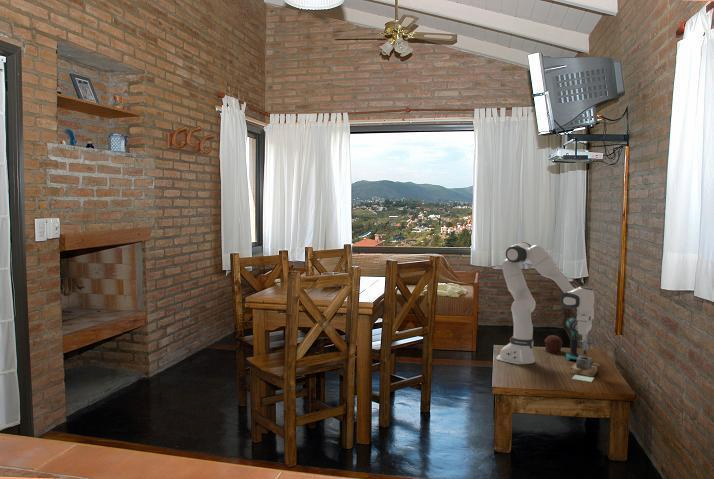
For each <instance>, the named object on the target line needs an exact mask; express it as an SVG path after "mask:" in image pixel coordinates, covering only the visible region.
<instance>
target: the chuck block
mask: <svg viewBox="0 0 714 479" xmlns="http://www.w3.org/2000/svg"><path fill="white" fill-rule="evenodd" d="M598 367H600V363H597V362H593V358H592V357H589V356H582V355H581V356H579V357H578V358H577V359H576V362H575V363H574V364H572V366H571V367H570V374H573V375H580V376H586V377H593V378H594V376H596V374H597V372H598Z"/></svg>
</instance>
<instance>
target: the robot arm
mask: <svg viewBox="0 0 714 479" xmlns="http://www.w3.org/2000/svg"><path fill="white" fill-rule="evenodd" d="M525 261H529V262H530V263H531V264H532V266H533V268H534V269H535V270H536V272H537V273H538V274H540V275H541V277H544V278H548V279H550V280H552V281H554V283H555V284H556V285H557V286H558V287H559V288H560V290H561V291H562V292H563V293H561V295H560V297H559V304H560V305H561V306H562V307H563V308H565V309H576V311H577V312H576V319H577V320H578V333H577V334H578V335H580V336H581V337H582V340H581V341H583V340H584V341H585V340H586V335H588V336H589V332H590V331H591V329H593V328H592V327H593V320H594V319H595V308H594V307H595V306H594V305H595V292H594V290H593V289H592V287H590V286H585V285H584V286H583V285H579V287H577V288H576V287H575V286H574V285H573V284H572V282H570V281H569V279H568V278H567V277H566V276H565V274H564V273H563V272H562V270H561V269H560V268H559V267H558V266H557V264H556V263H555V260H554V259H553V258H552V257H551V255H550V253H549V252H547V250H546V249H545V248H544V247H543V246H541V245H540V244H533V245H531V244H530V243H528V242H525V241H524V242H518V243H515V244H511V245H510V246H508V248H507V249H506V250H505V259H504V260H503V261H502V262H501V267H502V274H503V276H504V277H503V278H504V281H505V283H506V287H507V290H508V291H509V292H510V294H511V296H512V298H513V300H514V301H513V302H512V303H511V307H510V310H511V313H512V322H513V335H512V336H511V337H510V338H509V342H508V343H507V344H506V345H504V347H502V348H501V350H500V352H499V353H500V354H498V355H497V356H496V360H497V361H501V362H505V363H510V364H515V365H529V364H534V363H535V362H536V361H535V357H534V350H533V348H534V337H533V335H534V325H533V322H532V313H533V312H534V310H535V309H536V306H537V303H536V300H535V298H534V297H533V294H532V293H531V291H530V289H529V287H528V285H527V282H526V279H525V275H524V273H523V271H522V268H521V267H522V266H521V265H522V263H525Z"/></svg>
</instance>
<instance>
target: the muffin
mask: <svg viewBox="0 0 714 479" xmlns="http://www.w3.org/2000/svg"><path fill="white" fill-rule="evenodd" d="M543 341H544V345H545V346H544V347H545V351H546V352H548V353H552V354H558V353H561V351H562V346H563V343H564V342H563V340H562V339H561V338H560V337H559V336H558V335H554V334H552V335H551V334H550V335H548V336H547V337H546V338H545V339H544V340H543Z"/></svg>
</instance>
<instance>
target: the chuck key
mask: <svg viewBox="0 0 714 479" xmlns="http://www.w3.org/2000/svg"><path fill="white" fill-rule="evenodd" d="M588 336H589V334H588V335H586V340H585V341H584V340H578V344H582V354H583V355H588V349H589V348H588V345H593V341H590V340H589V337H588Z"/></svg>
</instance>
